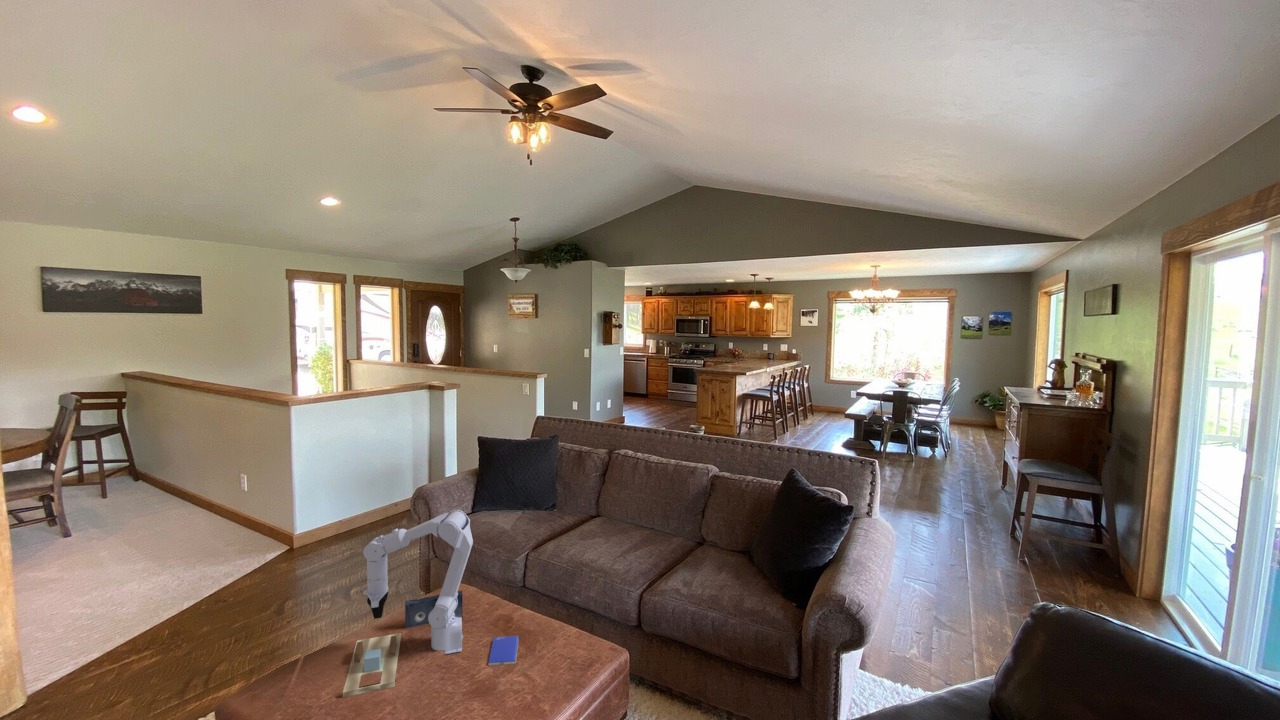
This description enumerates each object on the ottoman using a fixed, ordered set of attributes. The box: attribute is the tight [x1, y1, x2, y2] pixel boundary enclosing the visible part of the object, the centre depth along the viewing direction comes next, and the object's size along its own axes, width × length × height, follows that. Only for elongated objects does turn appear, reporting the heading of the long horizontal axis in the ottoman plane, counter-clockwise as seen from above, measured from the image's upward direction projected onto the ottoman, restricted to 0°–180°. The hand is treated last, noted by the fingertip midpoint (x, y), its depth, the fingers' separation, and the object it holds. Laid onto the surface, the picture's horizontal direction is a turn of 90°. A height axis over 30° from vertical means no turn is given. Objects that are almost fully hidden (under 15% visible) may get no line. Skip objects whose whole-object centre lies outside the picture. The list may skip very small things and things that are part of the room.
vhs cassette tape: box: [404, 590, 464, 629], centre depth 175 cm, size 18×3×10 cm, turn 114°
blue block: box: [364, 649, 381, 672], centre depth 152 cm, size 4×4×4 cm
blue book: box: [487, 635, 520, 666], centre depth 163 cm, size 2×8×12 cm
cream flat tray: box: [342, 632, 402, 698], centre depth 154 cm, size 13×24×4 cm, turn 21°
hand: (378, 617), depth 162 cm, fingers closed
